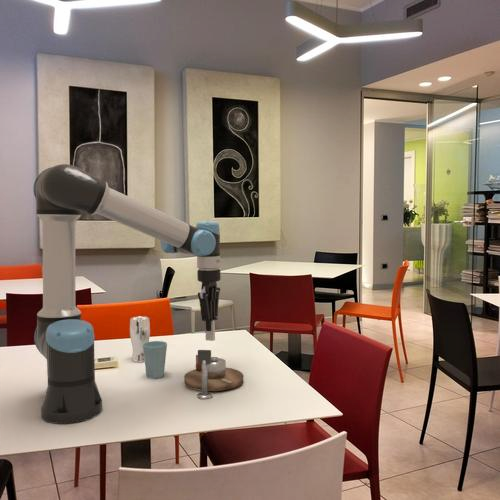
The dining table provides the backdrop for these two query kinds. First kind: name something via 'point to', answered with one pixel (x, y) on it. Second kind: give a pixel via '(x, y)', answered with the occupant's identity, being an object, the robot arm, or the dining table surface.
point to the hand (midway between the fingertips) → (210, 339)
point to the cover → (216, 368)
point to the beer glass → (139, 336)
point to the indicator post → (204, 373)
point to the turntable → (227, 382)
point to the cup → (155, 358)
